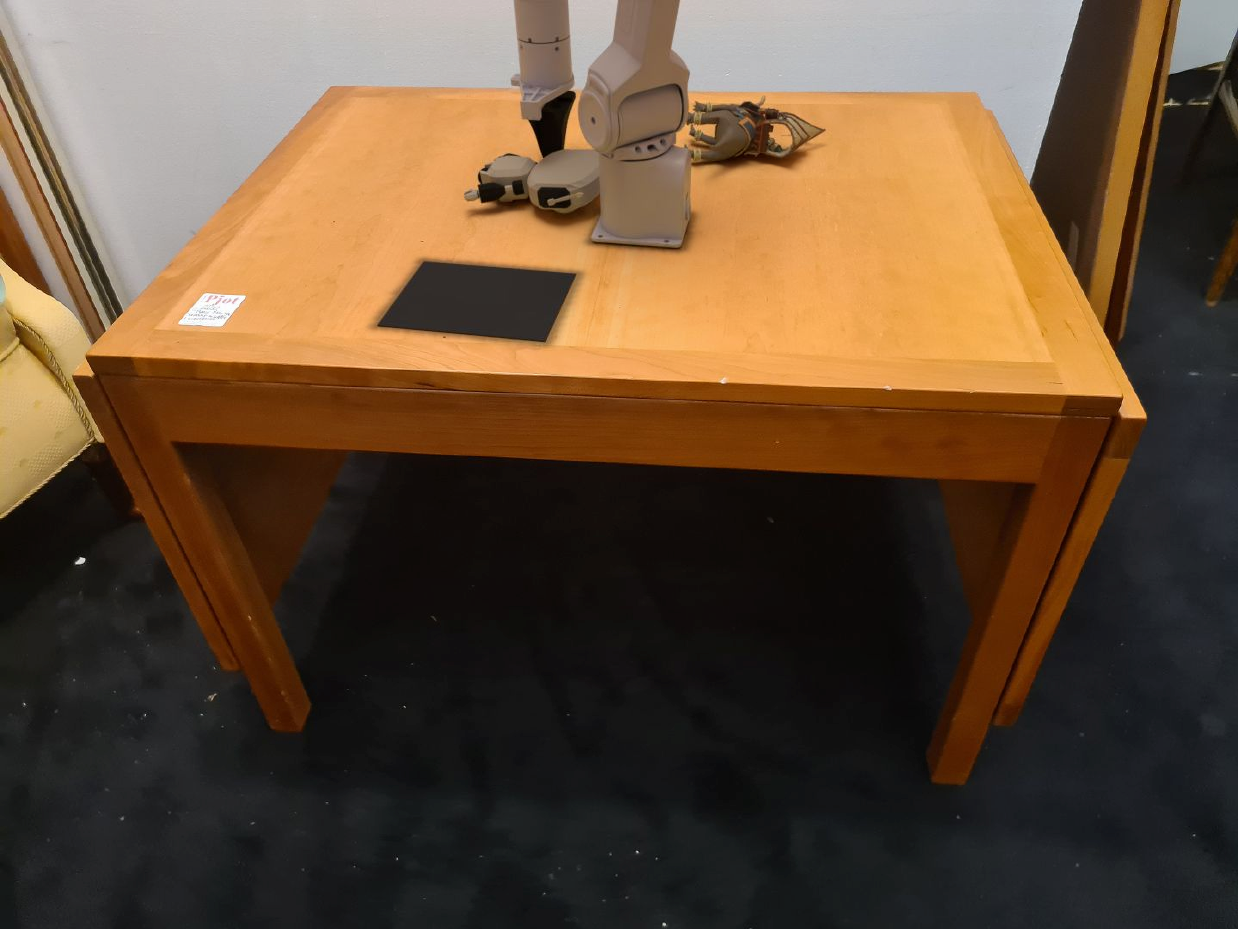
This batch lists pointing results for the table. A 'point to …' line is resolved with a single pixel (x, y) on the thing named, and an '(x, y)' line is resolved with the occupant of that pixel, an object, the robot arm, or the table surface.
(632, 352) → the table surface
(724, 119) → the leather gauntlet glove
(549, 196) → the robot toy
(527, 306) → the mat
